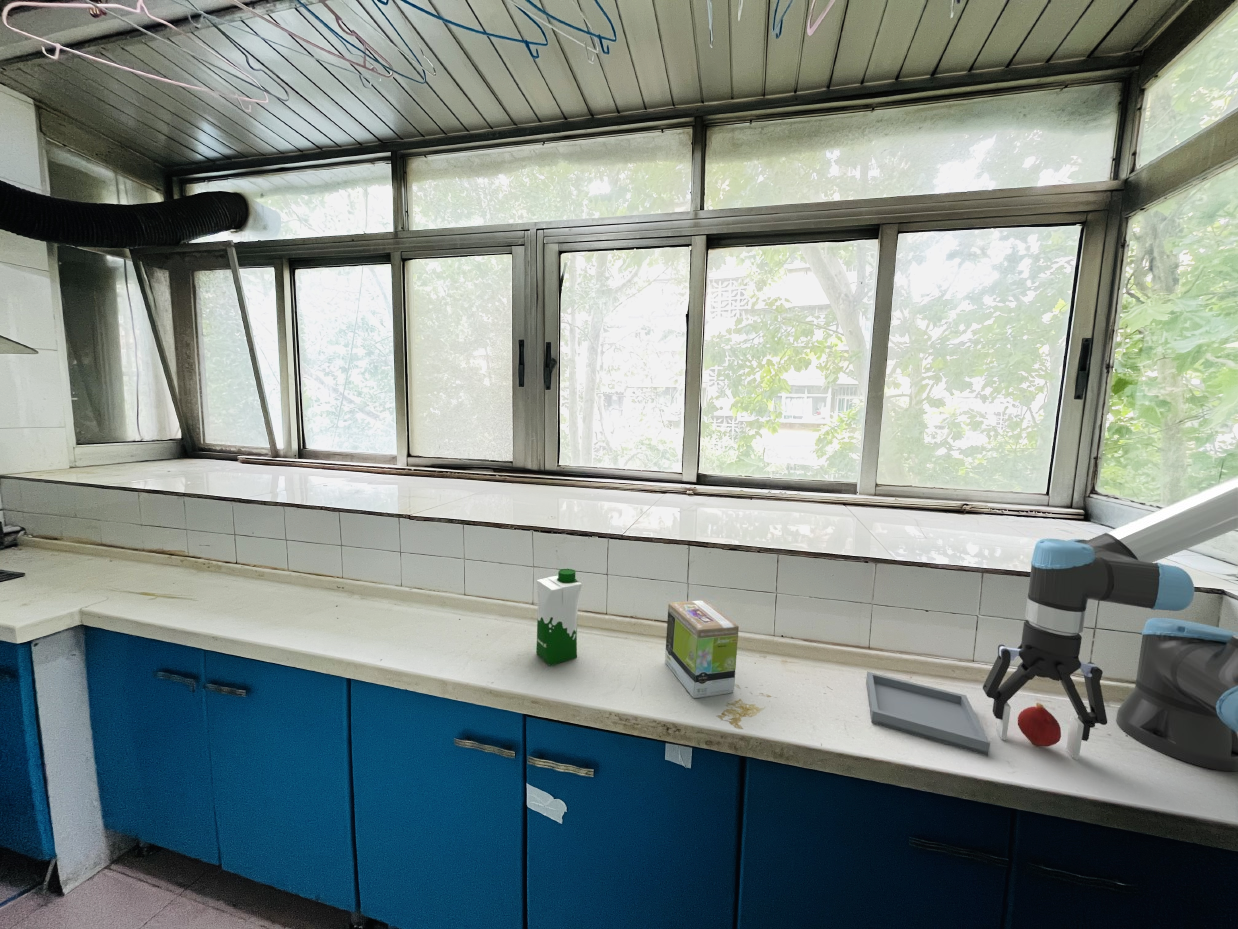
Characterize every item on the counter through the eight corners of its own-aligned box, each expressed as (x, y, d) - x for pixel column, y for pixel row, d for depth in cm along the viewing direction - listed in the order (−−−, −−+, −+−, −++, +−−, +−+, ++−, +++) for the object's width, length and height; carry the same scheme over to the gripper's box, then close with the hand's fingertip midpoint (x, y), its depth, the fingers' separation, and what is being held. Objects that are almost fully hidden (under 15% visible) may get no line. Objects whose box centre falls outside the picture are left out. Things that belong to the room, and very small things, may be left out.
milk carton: (582, 658, 106) (585, 575, 104) (547, 669, 101) (550, 582, 99) (563, 642, 113) (566, 564, 111) (530, 652, 108) (532, 570, 106)
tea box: (735, 693, 95) (740, 625, 94) (692, 700, 92) (697, 630, 90) (701, 657, 109) (705, 598, 108) (663, 662, 106) (666, 601, 105)
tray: (964, 706, 94) (965, 695, 93) (988, 756, 79) (990, 743, 79) (866, 682, 101) (867, 671, 101) (871, 723, 87) (872, 711, 87)
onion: (1057, 745, 83) (1063, 704, 82) (1059, 762, 79) (1065, 719, 78) (1015, 730, 87) (1020, 691, 86) (1014, 745, 82) (1020, 704, 82)
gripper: (1124, 632, 79) (1106, 752, 81) (970, 606, 89) (957, 714, 91) (1152, 651, 73) (1131, 781, 75) (982, 620, 82) (967, 736, 84)
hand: (1035, 744), depth 83 cm, fingers open, 9 cm apart
